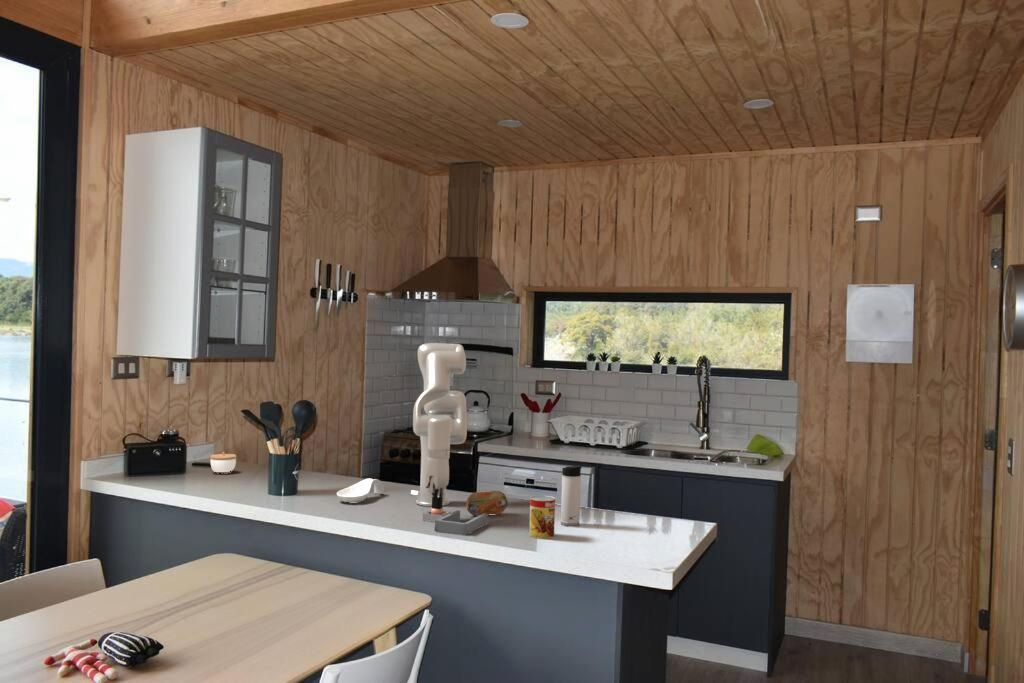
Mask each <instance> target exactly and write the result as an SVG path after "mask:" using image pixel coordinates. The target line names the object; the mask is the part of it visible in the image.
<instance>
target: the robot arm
mask: <svg viewBox="0 0 1024 683" xmlns="http://www.w3.org/2000/svg"><path fill="white" fill-rule="evenodd" d="M466 358H467V357H466V353H465V349H464V346H463V345H462V344H460V343H447V342H443V343H441V342H430V343H429V342H427V343H423V344H420V345H419V347H418V348H417V362H418V366H419V370H420V372H421V375H422V378H423V392H422V393H420V395H419V396H418V397H417V399H416V401H415V402H414V407H413V409H412V410H413V411H412V412H413V413H412V414H413V415H412V430H413V433H414V434H415V435H416V436H418V437H419V438H420V454H421V456H420V484H419V485H420V486H419V487H420V488H419V489H420V490H416V489H414V490H413V489H412V490H411V491H410V495H411V497H416V499H415V504H417V505H418V504H419V506H424V507H431V508H433V509H441V508H443V506H447V505H449V504H450V503H451V500H450V499H449V498H447V496H446V495H447V486H448V485H449V480H450V465H449V464H450V463H449V459H450V454H451V453H450V450H451V445H460V444H464V443H465V442H466V439H467V434H468V432H467V431H468V430H467V428H468V427H467V426H468V424H467V423H468V422H467V419H468V418H467V415H468V414H467V398H466V396H465V394H464V393H463V392H462V391H461V390H460V391H459V390H451V388H450V387H451V386H450V382H451V381H450V375H462V374H464V373H465V372H466V368H467V359H466ZM422 409H424V411H425V412H424V413H426V414H422Z"/></svg>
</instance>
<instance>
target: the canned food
mask: <svg viewBox="0 0 1024 683" xmlns="http://www.w3.org/2000/svg"><path fill="white" fill-rule="evenodd" d="M529 500H530V501H529V502H530V503H529V537H531V538H532V539H537V538H538V539H539V540H547V539H549V540H550V539H553V538H554V537H555V522H556V520H555V517H556V497H554V496H550V495H532V496H530V499H529Z"/></svg>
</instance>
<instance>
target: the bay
mask: <svg viewBox="0 0 1024 683" xmlns="http://www.w3.org/2000/svg"><path fill="white" fill-rule="evenodd" d="M459 520H460V521H459ZM457 521H459V522H457ZM486 523H487V524H488V516H487V514H486V513H483V514H481V515H479V516H477V517H476V516H475V517H474V518H471V519H470V520H468V521H466V522H461V510H455V511H452V512H451V513H450V514H448V515H446V516H444V517H442V518H439V519H437V520H435V522H434V532H435V531H436V532H437V533H443V532H444V534H451V533H453V535H459V534H462V535H461V536H468V535H470V534H471V533H470V532H472V531H473V532H475V531H477V530H479V529H480V528H479V527H481V526H483V525H484V526H486V525H487V524H486ZM485 524H486V525H485ZM484 526H483V527H484ZM478 528H479V529H478ZM481 528H482V527H481ZM476 529H477V530H476ZM474 530H475V531H474ZM473 532H472V533H473ZM469 533H470V534H469ZM467 534H468V535H467Z"/></svg>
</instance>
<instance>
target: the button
mask: <svg viewBox="0 0 1024 683" xmlns="http://www.w3.org/2000/svg"><path fill="white" fill-rule="evenodd" d="M430 510H431V514H439V515H441V514H443V511H444V507H442V508H441V509H433V508H432V507H430Z"/></svg>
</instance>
